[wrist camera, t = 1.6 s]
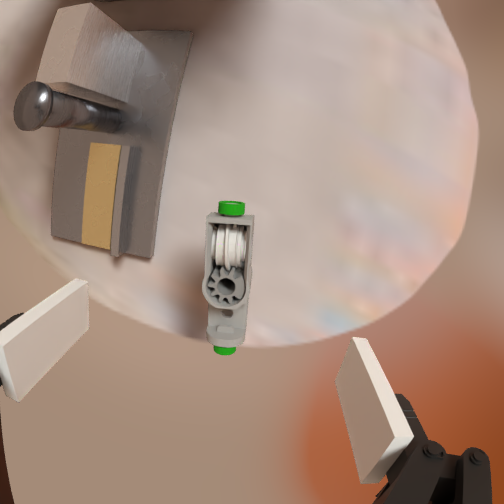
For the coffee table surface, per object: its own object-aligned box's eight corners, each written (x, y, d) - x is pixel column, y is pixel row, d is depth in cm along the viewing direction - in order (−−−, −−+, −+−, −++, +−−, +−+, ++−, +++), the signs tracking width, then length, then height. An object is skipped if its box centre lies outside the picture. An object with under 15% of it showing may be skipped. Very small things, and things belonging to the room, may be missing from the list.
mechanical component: (221, 296, 31) (201, 354, 21) (226, 189, 28) (204, 203, 18) (251, 299, 30) (244, 359, 21) (260, 191, 28) (255, 206, 18)
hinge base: (87, 37, 24) (12, -2, 12) (193, 35, 24) (148, -34, 12) (56, 233, 30) (-26, 269, 18) (153, 255, 30) (89, 312, 18)
